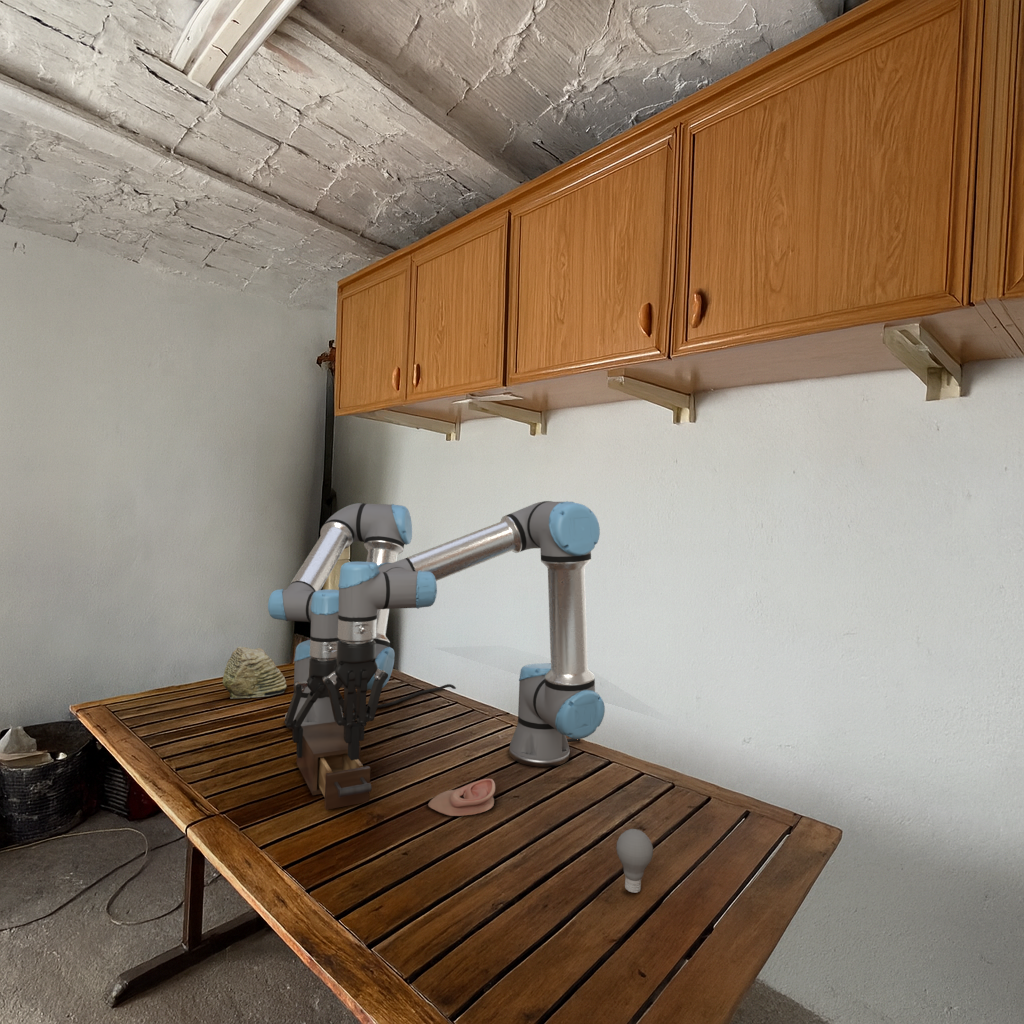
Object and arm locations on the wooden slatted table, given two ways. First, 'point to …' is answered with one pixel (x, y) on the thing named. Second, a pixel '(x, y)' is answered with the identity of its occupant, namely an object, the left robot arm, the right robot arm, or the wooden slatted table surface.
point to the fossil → (252, 674)
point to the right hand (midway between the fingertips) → (353, 757)
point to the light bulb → (634, 857)
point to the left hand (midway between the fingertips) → (322, 751)
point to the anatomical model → (466, 799)
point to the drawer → (343, 781)
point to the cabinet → (320, 750)
